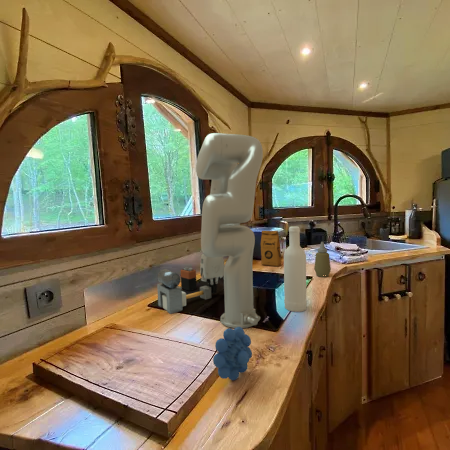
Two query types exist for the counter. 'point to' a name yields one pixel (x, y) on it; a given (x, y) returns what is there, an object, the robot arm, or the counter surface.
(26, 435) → the counter surface
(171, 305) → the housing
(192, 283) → the battery
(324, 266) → the squeeze bottle
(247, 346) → the grapes
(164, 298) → the white mallet
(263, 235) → the coffee package
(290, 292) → the bottle
